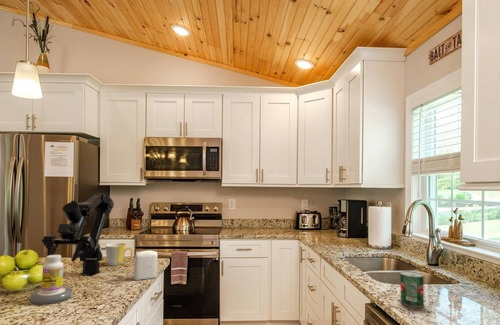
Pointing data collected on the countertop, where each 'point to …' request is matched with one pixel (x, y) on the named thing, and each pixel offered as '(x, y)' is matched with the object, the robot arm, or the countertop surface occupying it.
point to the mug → (116, 253)
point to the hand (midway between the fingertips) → (60, 260)
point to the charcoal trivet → (50, 296)
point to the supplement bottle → (52, 274)
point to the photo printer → (145, 265)
